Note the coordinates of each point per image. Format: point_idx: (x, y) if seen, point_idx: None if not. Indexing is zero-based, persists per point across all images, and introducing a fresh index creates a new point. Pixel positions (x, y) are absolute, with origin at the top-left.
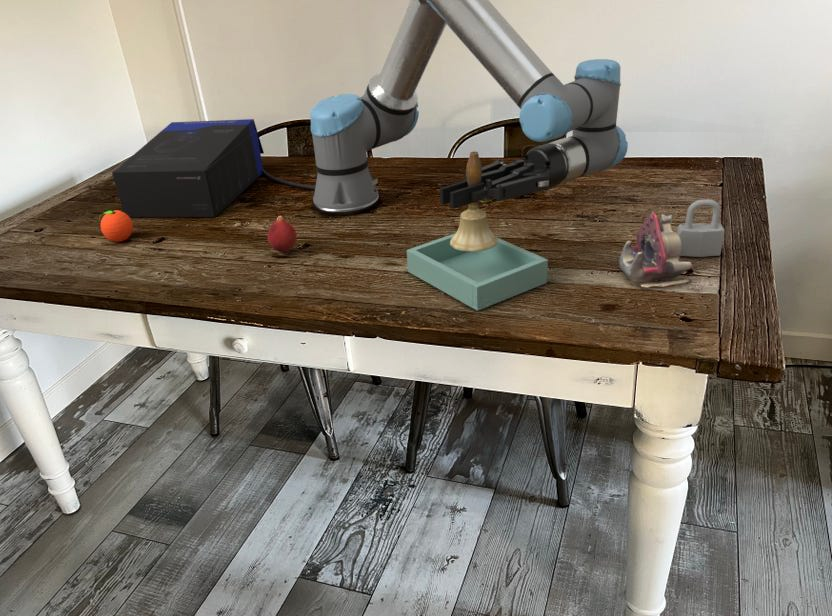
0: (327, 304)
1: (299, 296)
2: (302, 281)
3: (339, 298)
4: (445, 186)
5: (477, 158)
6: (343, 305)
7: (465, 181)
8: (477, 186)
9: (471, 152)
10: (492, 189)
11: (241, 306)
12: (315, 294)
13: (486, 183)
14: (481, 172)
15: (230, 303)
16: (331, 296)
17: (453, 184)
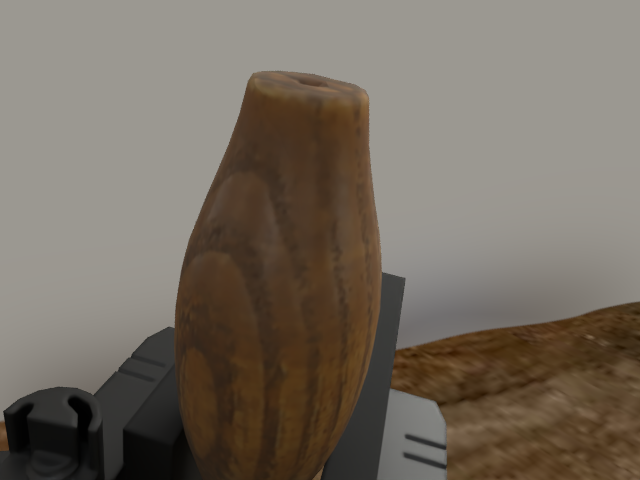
0: (459, 380)
1: (538, 383)
2: (622, 435)
3: (468, 408)
4: (401, 301)
5: (229, 145)
6: (429, 389)
7: (352, 413)
8: (171, 370)
9: (348, 86)
10: (3, 452)
11: (560, 326)
12: (526, 401)
13: (87, 416)
14: (175, 350)
15: (584, 327)
16: (492, 408)
17: (384, 335)
